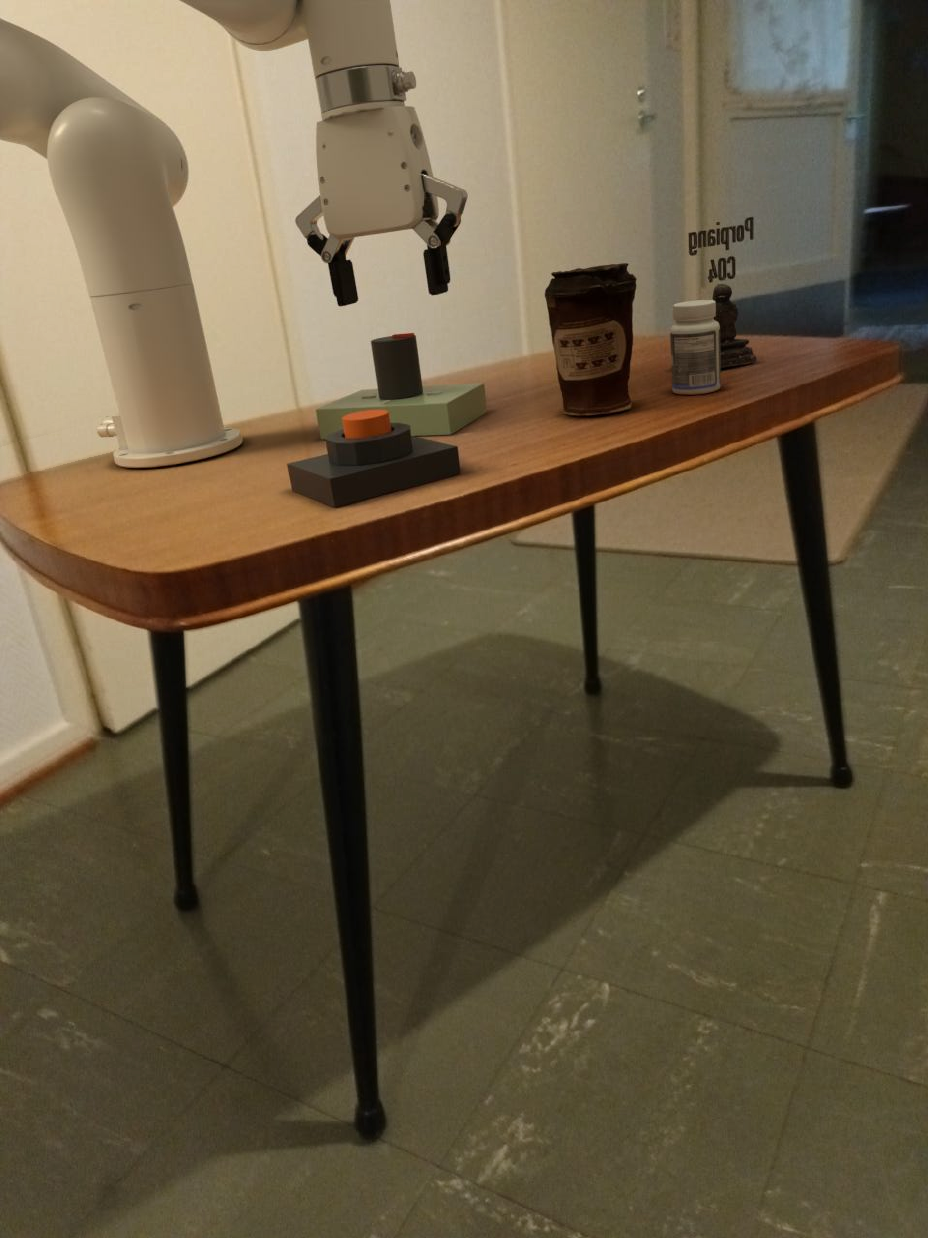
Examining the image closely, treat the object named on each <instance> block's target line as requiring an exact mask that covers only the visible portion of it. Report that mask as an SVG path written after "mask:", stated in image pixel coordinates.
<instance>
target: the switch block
mask: <svg viewBox="0 0 928 1238" xmlns="http://www.w3.org/2000/svg"><path fill="white" fill-rule="evenodd" d="M390 425H391V432H390V433H387V434H383V435H379V436H374V437H367V438H354V439H347V438H345V433H344V429H342V430H339V431H336V432H334V433H332V434H329V435H327V438H326V439H325V445H326V452H327V453H326V454H321V455H318V456H313V457H310V458H309V457H308V458H304V459H300V460H297V461H293V462H288V463H286V467H287V470H288V471H287V472H288V477H289V482H290V486H291V487H290V488H291V491H292V492H295V493H297V494H299V495H302V496H305V497H307V498H309V499H312V500H315V501H317V502H320V503H322V504H324V505H327V506H330V507H332V508H339V507H343V506H347V505H350V504H354V503H358V502H362V501H365V500H369V499H372V498H376V497H379V496H384V495H387V494H390V493H395V492H398V491H402V490H406V489H409V488H413V487H417V486H421V485H423V484H428V483H431V482H435V481H439V480H443V479H446V478H449V477H454V476H457V475H461V474H462V472H461V471H462V470H461V461H460V455H459V446H458V445H454V444H450V443H445V442H441V441H437V440H432V439H427V438H423V437H420V436H411V430H410V425H407V424H403V423H390Z"/></svg>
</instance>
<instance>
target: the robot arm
mask: <svg viewBox="0 0 928 1238" xmlns="http://www.w3.org/2000/svg"><path fill="white" fill-rule="evenodd" d="M179 1H180V2H182V3H184V4H186V6H189V7H191V8H193V9H194V10H196V11H198V12H200V13H202V14H204V15H205V16H207V17H208V18H210V19H211V20H213V21H215V22H216V23H218V24H219V25H220V26H221V27H222V28H223V29H224V30H225V31H226V32H227V34H229V35H230V37H232V38H233V39H234V40H235V41H236V42H237V43H239V44H240V45H241V46H243V47H245V48H247V49H250V50H253V51H257V52H271V51H272V52H273V51H276V50H280V49H283V48H286V47H290V46H292V45H295V44H298V43H301V42H304V41H308V47H309V52H310V53H309V54H310V59H311V65H312V71H313V77H314V80H315V81H314V82H315V88H316V94H317V99H318V104H319V105H318V106H319V111H320V116H321V120H320V121H316V128H315V132H316V134H315V150H316V151H315V152H316V153H315V155H316V169H317V181H318V190H319V195H318V196H317V197H316V198H315V199H314V200H313V201H312V202H311V203H309V204H308V205H307V206H306V207H305V208H303V210H302V211H301V212H300V213H299V214H297V216H296V217H295V219H294V222H295V226H297V228H298V230H299V231H300V233H301V234H302V236H303V237H304V239H306V243H307V245H308V246H309V248H310V249H311V250H313V251H314V252H315V253H316V254H317V255H318V256H320V259H321V261H322V262H323V263H325V264H327V266H328V273H329V278H330V283H331V288H332V293H333V296H334V297H335V298H336V303H337V306H338V307H346V306H349V305H353V304H357V303H358V301H359V294H358V288H357V283H356V282H357V281H356V277H355V269H354V266H353V261H352V259H347V254H348V253H349V250H350V249H351V247H352V244H353V241H354V240H355V238H359V237H367V236H373V235H381V234H386V233H387V234H388V233H394V232H400V231H401V232H402V231H406V230H407V231H408V230H413V231H414V232H415V234H416V235H418V237H420V239H422V241H423V242H424V243H425V244H426V247H427V248H426V249H424V250H423V262H424V269H425V276H426V277H425V278H426V283H427V289H428V294H429V295H431V296H438V295H441V294H445V293H448V292H449V284H450V283H451V272H450V263H449V256H448V249H447V246H449V245H450V244H451V239H452V238H453V236H454V235H455V233H456V231H457V230H458V228H459V227H460V225H461V223H462V215H463V214H464V210H465V207H466V203H467V200H468V192H467V190H465V189H464V188H461V187H460V186H457V185H454V184H452V183H449V182H447V181H445V180H442V179H440V178H438V177H435V176H434V174H433V169H432V163H431V159H430V154H429V152H428V151H429V150H428V148H427V144H426V140H425V137H424V133H423V128H422V126H421V123H420V120H419V119H420V118H419V116H418V114H417V111H416V108H415V107H414V106H412V105H411V106H410V105H409V106H408V105H406V104H405V101H407V95H406V94H407V93H408V92H409V91H411V90H415V89H416V88H417V79H416V75H415V73H414V71H412V70H411V71H407V72H405V70H403V68H402V66H401V67H400V62H399V61H400V60H399V54H398V47H397V40H396V39H397V38H396V32H395V26H394V19H393V12H392V11H393V10H392V5H391V0H179ZM0 141H4V142H7V143H12V144H17V145H22V146H25V147H27V148H29V149H30V150H32V151H34V152H35V153H36V154H38V155H40V156H41V157H43V158H44V159H46V160H47V165H48V171H49V175H50V179H51V182H52V186H53V189H54V191H55V194H56V197H57V200H58V202H59V205H60V207H61V211H62V213H63V215H64V218H65V220H66V223H67V225H68V229H69V231H70V234H71V237H72V240H73V244H74V246H75V249H76V253H77V257H78V259H79V260H78V261H79V263H80V267H81V270H82V271H81V272H82V273H83V278H84V282H85V285H86V290H87V293H88V297H89V300H90V304H91V308H92V312H93V315H94V319H95V324H96V327H97V331H98V336H99V339H100V343H101V347H102V351H103V354H104V359H105V362H106V366H107V370H108V374H109V375H108V376H109V378H110V383H111V386H112V390H113V395H114V398H115V401H116V405H117V409H118V413H116V414H113V415H107V416H105V417H104V418H103V421H102V423H99V424H98V425H97V428H96V433H97V435H98V437H100V438H113V437H116V438H117V443H118V448H116V449H115V450H114V451H113V452H112V456H113V461H114V463H115V465H117V466H119V467H122V468H126V469H127V468H131V469H145V468H158V467H165V466H166V467H167V466H173V465H181V464H186V463H190V462H195V461H199V460H204V459H208V458H212V457H216V456H218V455H221V454H225V453H228V452H230V451H232V450H234V449H236V448H238V447H239V446H240V445H242V443H243V442H244V440H243V436H242V432H241V430H239V429H237V428H233V427H225V424H224V421H223V416H222V411H221V407H220V402H219V397H218V393H217V387H216V384H215V379H214V374H213V369H212V365H211V360H210V355H209V351H208V346H207V342H206V336H205V332H204V328H203V323H202V319H201V318H202V317H201V313H200V309H199V305H198V300H197V295H196V289H195V286H194V283H193V278H192V272H191V268H190V263H189V259H188V255H187V250H186V248H185V244H184V239H183V237H182V233H181V230H180V225H179V223H178V219H177V216H176V214H175V209H174V207H175V206H176V205H177V204H178V203H179V202H180V201H181V199H182V198H183V196H184V194H185V192H186V189H187V187H188V182H189V174H190V173H189V161H188V157H187V155H186V151H185V149H184V146H183V144H182V142H181V140H180V139H179V137H178V135H177V133H175V132H174V131H173V129H172V128H171V127H170V126H169V125H168V124H167V123H166V122H164V121H163V120H162V119H161V118H159V117H158V116H157V115H155V114H154V113H152V112H151V111H150V110H148V109H147V108H146V107H144V106H142V105H141V104H140V103H138V102H137V101H136V100H134V99H133V98H132V97H130V96H129V95H128V94H126V93H125V92H123V91H122V90H120V89H119V88H117V87H116V86H115V85H113V84H112V83H111V82H110V81H108V80H106V79H105V78H104V77H102V76H101V75H99V74H98V73H97V72H95V71H94V70H92V69H91V68H90V67H88V65H86V64H85V63H83V62H81V61H80V60H79V59H77V58H76V57H75V56H73V55H71V54H70V53H69V52H67V51H65V50H64V49H63V48H61V47H60V46H58V45H56V44H54V43H53V42H51V41H49V40H48V39H46V38H44V37H42V36H40V35H38V34H36V33H34V32H32V31H29V30H28V29H26V28H23V27H21V26H19V25H17V24H14V23H12V22H10V21H7V20H5V19H3V18H0ZM438 198H440V199H443V200H444V201H445V202H446V208H445V213H444V214H443V216H442V218H441V219H440V221H439V222H437V220H438V218H439V215H440V213H439V212H440V211H439V201H438ZM322 217H323V221H324V224H325V228H326V231H327V234H329V235H328V237H327V236H326V235H324V234H323V233H322V232H321V230H320V228H319V226H318V221H319V220H320V219H321V218H322Z"/></svg>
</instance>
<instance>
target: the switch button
mask: <svg viewBox="0 0 928 1238" xmlns="http://www.w3.org/2000/svg"><path fill="white" fill-rule="evenodd" d="M342 421H343V427H344V433H345V438H347V439H354V438H367V437H374V436H379V435H383V434H387V433H390V432H391V425H390V418H389V412H388V411H387V410H366V411H360V412H355V413H351V414H348V415H345V416H343V417H342Z"/></svg>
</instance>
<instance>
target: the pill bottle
mask: <svg viewBox="0 0 928 1238" xmlns="http://www.w3.org/2000/svg"><path fill="white" fill-rule="evenodd" d="M715 313H716V302H715V301H714V300H713V299H698V300H686V301H681V302H677V303H674V304H673V307H672V317H673V318H672V319H673V321H675V323H674V324H673V325H672V326H671V327H670V330H669V340H670V365H671V369H670V370H671V391H672V392H673V394H676V395H683V396H684V395H685V396H686V395H687V396H688V395H689V396H694V395H697V396H698V395H705V394H710V393H713V392H716V391H718V390H720V388H721V385H722V371H721V370H722V368H721V361H720V359H721V356H720V325H719V323H718V322H717V321H715V320H714V318H713V317H715V316H716V314H715Z"/></svg>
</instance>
